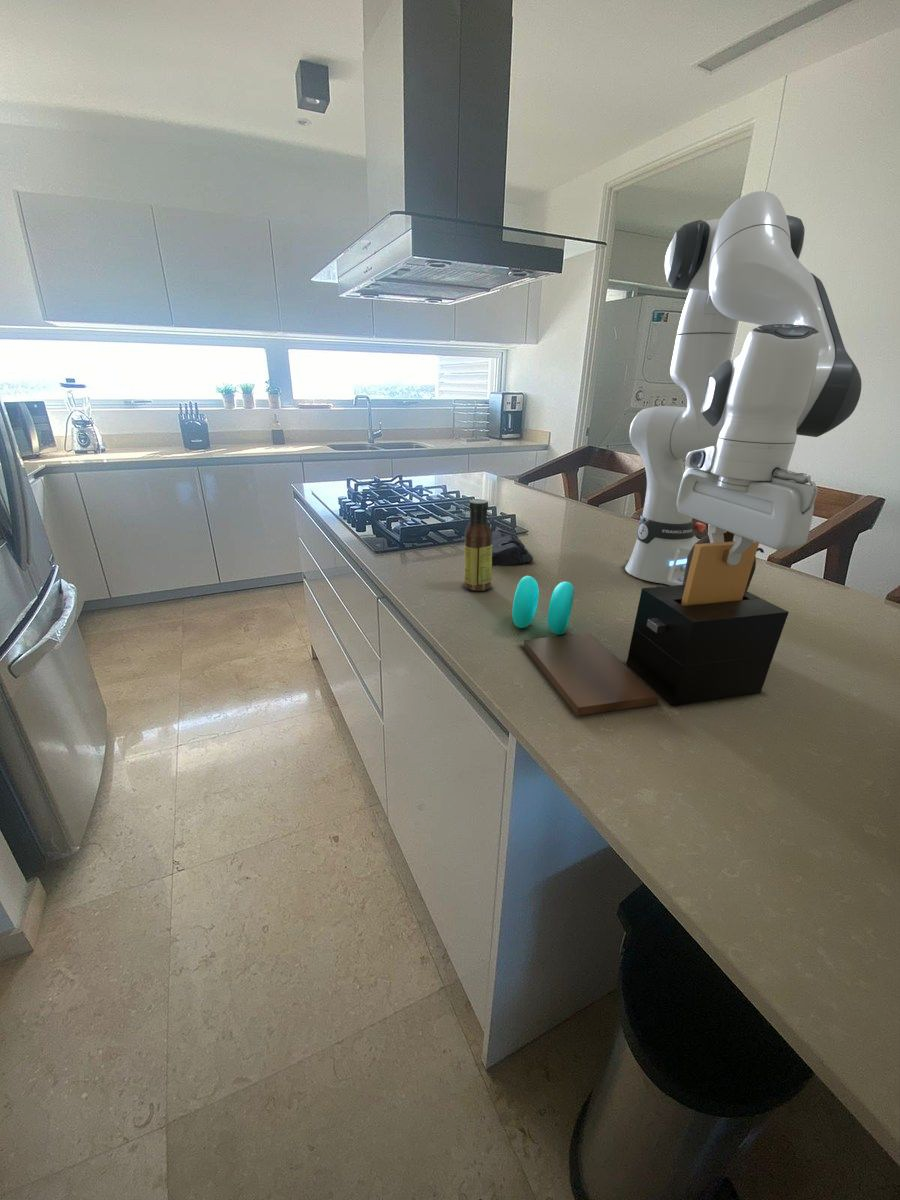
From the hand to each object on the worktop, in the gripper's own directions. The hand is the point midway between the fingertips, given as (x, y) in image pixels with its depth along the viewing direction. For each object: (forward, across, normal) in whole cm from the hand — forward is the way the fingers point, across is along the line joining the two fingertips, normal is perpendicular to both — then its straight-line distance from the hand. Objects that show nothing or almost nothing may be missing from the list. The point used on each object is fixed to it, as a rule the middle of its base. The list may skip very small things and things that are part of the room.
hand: (723, 560), depth 70 cm
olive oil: (+21, +11, -11) cm, 26 cm away
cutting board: (+20, +5, +17) cm, 27 cm away
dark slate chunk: (+21, +66, +9) cm, 70 cm away
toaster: (+20, 0, 0) cm, 20 cm away
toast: (+8, 0, 0) cm, 8 cm away
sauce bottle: (+20, +43, +23) cm, 53 cm away
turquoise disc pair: (+20, +21, +17) cm, 34 cm away
